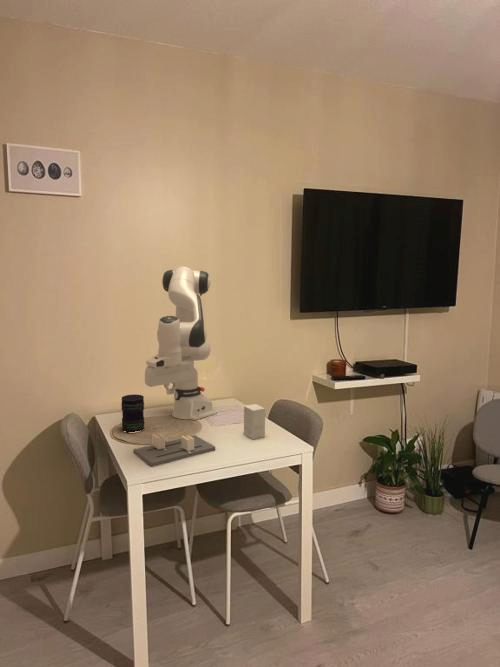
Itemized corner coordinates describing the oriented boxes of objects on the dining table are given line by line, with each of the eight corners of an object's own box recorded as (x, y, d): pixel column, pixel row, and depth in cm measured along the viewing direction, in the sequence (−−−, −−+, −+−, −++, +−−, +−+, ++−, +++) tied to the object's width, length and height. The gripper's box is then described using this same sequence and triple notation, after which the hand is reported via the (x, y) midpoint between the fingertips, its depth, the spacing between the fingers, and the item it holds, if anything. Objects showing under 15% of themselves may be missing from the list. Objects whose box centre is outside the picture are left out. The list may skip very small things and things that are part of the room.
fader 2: (187, 445, 201) (187, 434, 200) (194, 449, 197) (194, 438, 196) (181, 447, 199) (181, 436, 198) (187, 451, 195) (187, 439, 194)
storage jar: (149, 429, 224) (148, 397, 222) (130, 435, 217) (129, 401, 215) (135, 424, 231) (135, 393, 228) (117, 429, 223) (116, 397, 221)
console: (195, 438, 214) (195, 434, 213) (215, 450, 201) (215, 446, 201) (133, 453, 197) (133, 449, 197) (151, 466, 184) (151, 462, 184)
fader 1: (159, 444, 202) (159, 433, 201) (165, 447, 198) (165, 436, 197) (152, 445, 200) (152, 434, 199) (158, 449, 196) (158, 438, 195)
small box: (265, 437, 216) (265, 408, 214) (252, 439, 213) (252, 410, 211) (255, 431, 223) (256, 403, 221) (243, 434, 220) (243, 405, 218)
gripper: (189, 354, 200) (190, 387, 202) (142, 360, 188) (143, 396, 190) (197, 356, 195) (198, 391, 197) (149, 364, 183) (150, 400, 185)
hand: (170, 393), depth 193 cm, fingers closed
